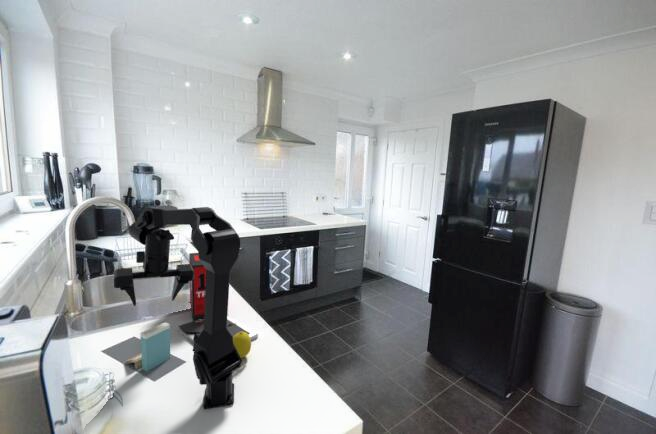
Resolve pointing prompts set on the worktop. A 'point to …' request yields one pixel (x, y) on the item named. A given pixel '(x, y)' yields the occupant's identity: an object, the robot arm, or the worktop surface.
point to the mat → (133, 348)
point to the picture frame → (198, 326)
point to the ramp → (136, 361)
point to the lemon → (242, 343)
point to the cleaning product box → (197, 287)
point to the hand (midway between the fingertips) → (154, 302)
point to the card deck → (155, 346)
